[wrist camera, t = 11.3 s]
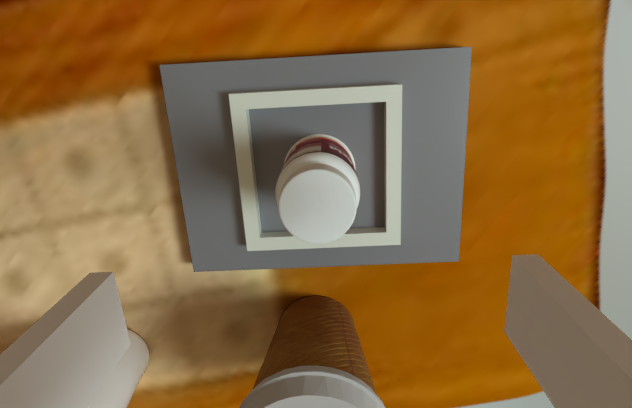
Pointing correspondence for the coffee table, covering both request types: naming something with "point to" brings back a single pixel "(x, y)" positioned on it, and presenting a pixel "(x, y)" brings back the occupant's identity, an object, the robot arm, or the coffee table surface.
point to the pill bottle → (318, 191)
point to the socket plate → (332, 122)
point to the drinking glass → (124, 376)
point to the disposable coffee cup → (314, 361)
